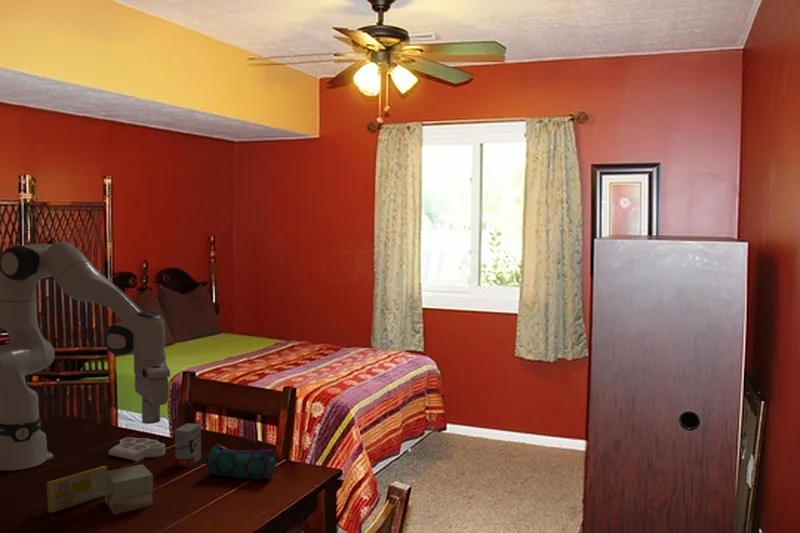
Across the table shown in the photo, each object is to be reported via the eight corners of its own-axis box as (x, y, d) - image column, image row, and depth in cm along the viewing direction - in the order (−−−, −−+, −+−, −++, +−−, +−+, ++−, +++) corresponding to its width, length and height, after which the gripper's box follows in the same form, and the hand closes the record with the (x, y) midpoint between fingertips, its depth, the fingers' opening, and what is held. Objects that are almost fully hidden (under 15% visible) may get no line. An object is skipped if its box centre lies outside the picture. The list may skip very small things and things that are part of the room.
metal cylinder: (139, 420, 204) (139, 400, 204) (157, 417, 207) (156, 398, 206) (145, 424, 200) (144, 404, 200) (162, 421, 203) (162, 401, 202)
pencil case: (203, 479, 209) (202, 448, 208) (216, 469, 217) (216, 439, 217) (267, 485, 204) (267, 453, 204) (278, 474, 213) (278, 444, 212)
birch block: (105, 502, 191) (104, 487, 191) (142, 494, 197) (141, 479, 197) (114, 515, 183) (113, 499, 183) (152, 506, 189) (152, 490, 189)
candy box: (105, 493, 198) (104, 465, 197) (108, 495, 196) (108, 466, 196) (46, 511, 185) (46, 481, 184) (50, 513, 184) (49, 483, 183)
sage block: (105, 487, 191) (105, 471, 191) (142, 479, 197) (142, 464, 196) (114, 499, 183) (114, 482, 183) (153, 490, 189) (152, 474, 188)
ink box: (188, 468, 218) (188, 431, 217) (174, 466, 219) (174, 430, 218) (201, 458, 226) (201, 423, 225) (188, 457, 227) (187, 422, 226)
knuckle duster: (101, 456, 229) (135, 443, 242) (141, 465, 221) (174, 451, 234) (101, 446, 229) (135, 434, 242) (141, 454, 221) (174, 441, 234)
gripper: (128, 362, 209) (129, 407, 210) (149, 374, 192) (150, 423, 193) (150, 360, 212) (150, 404, 213) (172, 372, 196) (172, 419, 197)
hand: (150, 413), depth 203 cm, fingers closed on metal cylinder, 5 cm apart
